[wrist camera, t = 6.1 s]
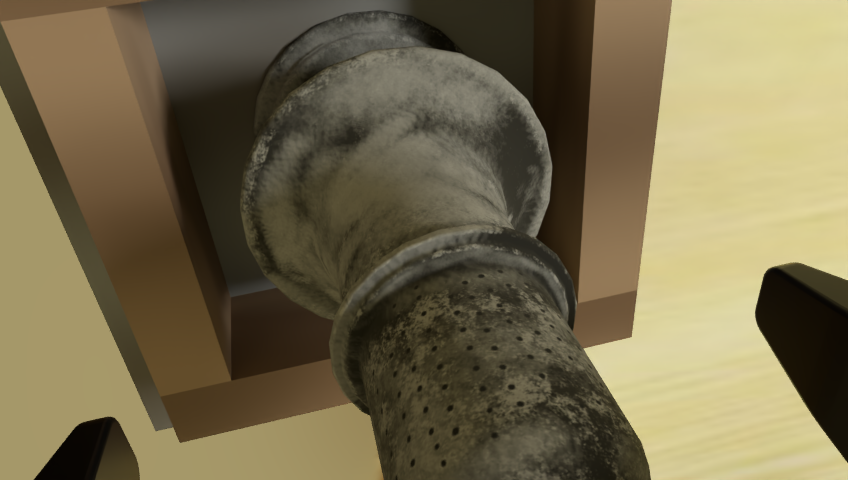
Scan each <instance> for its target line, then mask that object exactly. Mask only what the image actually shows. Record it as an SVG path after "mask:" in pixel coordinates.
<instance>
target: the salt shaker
mask: <svg viewBox="0 0 848 480" xmlns="http://www.w3.org/2000/svg"><path fill="white" fill-rule="evenodd" d="M253 130H254V136H255V142H254V145H253V147H252V149H251V152H250V154H249V156H248V159H247V161H246V163H245V165H244V173H243V182H242V190H241V199H240V211H241V216H242V221H243V226H244V231H245V235H246V240H247V245H248V246H249V248H250V250H251V252H252V254H253V255H254V257H255V259H256V261H257V263H258V264H259V266H260V268H261V270H262V272H263V273H264V275H265V276H266V277H267V278H268V279H269V280H270V281H271V282H272V283H273V284H274V285H275V286H276V287H277V288H278V289H279V290H280V291H281V292H282V293H283V294H284V295H285V296H286V297H287V298H288V299H290V300H291V301H293V302H295V303H297V304H298V305H300V306H302V307H304V308H306V309H307V310H309V311H311V312H313V313H315V314H317V315H318V316H320V317H323V318H327V319H331V320H334V322H333V327H332V331H331V336H330V340H329V348H330V357H331V365H332V372H333V375H334V377H335V378H336V380H337V382H338V384H339V386H340V388H341V390H342V392H343V394H344V395H345V396H346V397H347V398H348V399H349V400H350V401H351V402H352V403H353V404H355V406H357V407H358V408H359V409H360V410H361V411H362V412H364V413H366V414H368V415H370V417H371V421H372V426H373V431H374V435H375V440H376V445H377V449H378V454H379V459H380V463H381V468H382V473H383V477H384V480H651V477H650V470H649V465H648V462H647V459H646V456H645V453H644V449H643V446H642V443H641V441H640V440H639V438H638V436H637V435H636V433H635V431H634V430H633V428H632V427H631V425H630V423H629V422H628V420H627V419H626V417H625V415H624V414H623V412H622V411H621V409H620V407H619V406H618V404H617V402H616V401H615V399H614V398H613V396H612V394H611V393H610V391H609V390H608V388H607V386H606V385H605V383H604V382H603V380H602V378H601V377H600V375H599V373H598V372H597V370H596V369H595V367H594V365H593V364H592V362H591V361H590V359H589V357H588V356H587V354H586V353H585V351H584V349H583V348H582V346H581V345H580V343H579V341H578V340H577V338H576V336H575V335H574V333H573V332H572V331H573V329H574V323H575V315H576V308H577V301H576V296H575V290H574V285H573V280H572V278H571V276H570V275H569V273H568V271H567V270H566V268H565V266H564V265H563V263H562V262H561V260H560V258H559V257H558V255H557V254H556V253H555V252H553V251H552V250H551V249H549V248H548V247H547V246H546V245H544V244H543V243H542V242H541V241H539V240H538V239H537V238H536V236H537V234H538V231H539V229H540V226H541V223H542V220H543V217H544V215H545V212H546V209H547V206H548V204H549V200H550V188H551V176H552V162H551V157H550V152H549V148H548V143H547V138H546V133H545V130H544V128H543V127H542V125H541V123H540V121H539V119H538V118H537V116H536V114H535V112H534V111H533V109H532V107H531V105H530V103H529V102H528V100H527V99H526V98H525V97H524V96H523V95H522V94H521V93H520V92H519V91H518V90H517V89H516V88H515V87H514V86H513V85H512V84H511V83H509V82H508V81H507V80H506V79H505V78H504V77H503V76H502V75H501V74H500V73H499V72H498V71H496V70H494V69H492V68H490V67H488V66H486V65H484V64H482V63H480V62H477V61H475V60H473V59H471V58H469V57H467V56H465V54H464V52H463V51H462V50H461V49H460V48H459V47H458V46H457V45H456V44H455V43H454V42H453V41H451V40H450V39H449V38H448V37H447V36H446V35H445V34H444V33H443V32H442V31H441V30H439V29H437V28H435V27H433V26H431V25H429V24H427V23H425V22H423V21H421V20H419V19H417V18H415V17H413V16H410V15H405V14H399V13H394V12H388V11H383V10H375V11H364V12H353V13H346V14H343V15H341V16H338V17H335V18H333V19H330V20H327V21H324V22H322V23H319V24H316V25H315V26H313V27H312V28H311V29H309V30H308V31H306V32H305V33H304V34H302V35H301V36H300V37H298V38H297V39H295V40H294V41H293V42H291V43H290V44H289V45H288V46H287V47H286V48H285V50H284V51H283V52H282V53H281V55H280V56H279V57H278V58H277V60H276V61H275V62H274V63H273V65H272V66H271V67H270V68H269V70H268V72H267V75H266V77H265V79H264V82H263V84H262V87H261V89H260V91H259V94H258V96H257V100H256V108H255V117H254V126H253Z"/></svg>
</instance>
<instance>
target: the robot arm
mask: <svg viewBox="0 0 848 480" xmlns="http://www.w3.org/2000/svg"><path fill="white" fill-rule="evenodd" d="M755 318H756V322H757V325H758V327H759V329H760V331H761V333H762V334H763V336H764V338H765V339H766V341H767V342H768V344H769V346H770V347H771V349H772V351H773V352H774V354H775V356H776V357H777V359H778V361H779V362H780V364H781V366H782V367H783V369H784V370H785V372H786V374H787V375H788V377H789V379H790V380H791V382H792V384H793V385H794V387H795V389H796V390H797V392H798V393H799V395H800V397H801V398H802V400H803V402H804V403H805V405H806V406H807V408H808V409H809V411H810V412H811V414H812V415H813V417H814V418H815V420H816V421H817V422H818V424H819V425H820V427H821V428H822V429H823V431H824V432H825V433H826V435H827V436H828V437H829V439H830V440H831V441H832V443H833V444H834V445H835V447H836V448H837V449H838V451H839V452H840V453H841V455H842V456H843V457H844V459H845V460H846V461H847V463H848V280H845V279H843V278H840V277H837V276H834V275H831V274H829V273H826V272H823V271H820V270H818V269H815V268H812V267H809V266H807V265H804V264H801V263H796V262H795V263H788V264H783V265H779V266H774V267H771V268H769V269H768V270H767V271H766V273H765V274H764V277H763V281H762V285H761V289H760V293H759V297H758V301H757V305H756V310H755ZM139 476H140V475H139V467H138V463H137V459H136V457H135V454H134V452H133V450H132V448H131V446H130V444H129V442H128V440H127V438H126V436H125V434H124V432H123V430H122V428H121V426H120V424H119V422H118V421H117V420H116V419H115V418H113V417H104V418H100V419H95V420H91V421H87V422H83V423H81V424H79V425H78V426H76V427H75V429H74V430H73V431H72V432H71V433H70V435H69V436H68V437H67V438H66V440H65V441H64V442H63V443H62V445H61V446H60V447H59V449H58V450H57V451H56V453H55V454H54V455H53V456H52V458H51V459H50V460H49V461H48V463H47V464H46V465H45V466H44V468H43V469H42V470H41V472H40V473H39V474H38V475H37V476H36V478H35V479H34V480H140V477H139Z"/></svg>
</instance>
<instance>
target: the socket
mask: <svg viewBox="0 0 848 480" xmlns="http://www.w3.org/2000/svg"><path fill="white" fill-rule="evenodd" d="M671 4H672V0H0V86H1V88H2V90H3V93H4V95H5V97H6V99H7V101H8V104H9V106H10V108H11V110H12V112H13V114H14V117H15V119H16V121H17V123H18V126H19V128H20V130H21V132H22V135H23V137H24V139H25V141H26V143H27V146H28V148H29V150H30V153H31V154H32V157H33V159H34V162H35V164H36V166H37V168H38V170H39V173H40V175H41V177H42V179H43V182H44V184H45V186H46V188H47V190H48V193H49V195H50V197H51V199H52V201H53V203H54V206H55V208H56V210H57V213H58V215H59V217H60V219H61V221H62V224H63V226H64V228H65V230H66V233H67V235H68V237H69V239H70V242H71V244H72V246H73V248H74V250H75V253H76V255H77V257H78V259H79V262H80V264H81V266H82V268H83V270H84V273H85V275H86V277H87V279H88V282H89V284H90V286H91V288H92V290H93V292H94V295H95V297H96V299H97V302H98V304H99V306H100V308H101V310H102V313H103V315H104V317H105V319H106V322H107V324H108V326H109V328H110V330H111V333H112V335H113V337H114V339H115V342H116V344H117V346H118V348H119V351H120V353H121V355H122V357H123V359H124V362H125V364H126V366H127V368H128V371H129V373H130V375H131V377H132V379H133V382H134V384H135V386H136V388H137V391H138V393H139V395H140V397H141V399H142V402H143V404H144V406H145V408H146V410H147V413H148V415H149V417H150V419H151V421H152V424H153V426H154V428H155V430H156V431H158V430H163V429H167V428H172V427H173V428H174V430H175V432H176V435H177V437H178V439H179V442H180V443H181V442H186V441H190V440H194V439H198V438H203V437H207V436H211V435H216V434H219V433H224V432H228V431H232V430H237V429H241V428H245V427H249V426H254V425H258V424H262V423H267V422H271V421H275V420H279V419H284V418H288V417H292V416H296V415H301V414H305V413H309V412H314V411H318V410H322V409H326V408H330V407H335V406H339V405H344V404H348V403H352V402H351V401H350V400H349V399H348V398H347V397H346V396H345V395H344V394H343V392H342V390H341V388H340V386H339V384H338V382H337V380H336V378H335V377H334V375H333V372H332V365H331V357H330V348H329V340H330V336H331V331H332V327H333V322H334V320H331V319H327V318H323V317H320V316H318V315H317V314H315V313H313V312H311V311H309V310H307V309H306V308H304V307H302V306H300V305H298V304H297V303H295V302H293V301H291V300H290V299H288V298H287V297H286V296H285V295H284V294H283V293H282V292H281V291H280V290H279V289H278V288H277V287H276V286H275V285H274V284H273V283H272V282H271V281H270V280H269V279H268V278H267V277H266V276H265V275H264V273H263V272H262V270H261V268H260V266H259V264H258V263H257V261H256V259H255V257H254V255H253V254H252V252H251V250H250V248H249V246H248V245H247V240H246V235H245V231H244V226H243V221H242V216H241V211H240V199H241V190H242V182H243V173H244V165H245V163H246V161H247V159H248V156H249V154H250V152H251V149H252V147H253V145H254V142H255V136H254V130H253V126H254V117H255V108H256V100H257V96H258V94H259V91H260V89H261V87H262V84H263V82H264V79H265V77H266V75H267V72H268V70H269V68H270V67H271V66H272V65H273V63H274V62H275V61H276V60H277V58H278V57H279V56H280V55H281V53H282V52H283V51H284V50H285V48H286V47H287V46H288V45H289V44H290V43H291V42H293V41H294V40H295V39H297V38H298V37H300V36H301V35H302V34H304V33H305V32H306V31H308V30H309V29H311V28H312V27H313V26H315V25H316V24H319V23H322V22H324V21H327V20H330V19H333V18H335V17H338V16H341V15H343V14H346V13H353V12H364V11H375V10H383V11H388V12H394V13H399V14H405V15H410V16H413V17H415V18H417V19H419V20H421V21H423V22H425V23H427V24H429V25H431V26H433V27H435V28H437V29H439V30H441V31H442V32H443V33H444V34H445V35H446V36H447V37H448V38H449V39H450V40H451V41H453V42H454V43H455V44H456V45H457V46H458V47H459V48H460V49H461V50H462V51H463V52H464V54H465V56H467V57H469V58H471V59H473V60H475V61H477V62H480V63H482V64H484V65H486V66H488V67H490V68H492V69H494V70H496V71H498V72H499V73H500V74H501V75H502V76H503V77H504V78H505V79H506V80H507V81H508V82H509V83H511V84H512V85H513V86H514V87H515V88H516V89H517V90H518V91H519V92H520V93H521V94H522V95H523V96H524V97H525V98H526V99H527V100H528V102H529V103H530V105H531V107H532V109H533V111H534V112H535V114H536V116H537V118H538V119H539V121H540V123H541V125H542V127H543V128H544V130H545V133H546V138H547V143H548V148H549V152H550V157H551V162H552V176H551V188H550V200H549V204H548V206H547V209H546V212H545V215H544V217H543V220H542V223H541V226H540V229H539V231H538V234H537V236H536V238H537V239H538V240H539V241H541V242H542V243H543V244H544V245H546V246H547V247H548V248H549V249H551V250H552V251H553V252H555V253H556V254H557V255H558V257H559V258H560V260H561V262H562V263H563V265H564V266H565V268H566V270H567V271H568V273H569V275H570V276H571V278H572V280H573V285H574V290H575V296H576V301H577V308H576V315H575V323H574V329H573V331H572V332H573V333H574V335H575V336H576V338H577V340H578V341H579V343H580V345H581V346H582V348H587V347H591V346H595V345H600V344H604V343H608V342H613V341H617V340H621V339H625V338H630V337H632V329H633V321H634V312H635V304H636V296H637V287H638V279H639V271H640V262H641V254H642V246H643V237H644V229H645V221H646V212H647V204H648V196H649V188H650V179H651V171H652V163H653V154H654V146H655V138H656V129H657V121H658V113H659V104H660V96H661V88H662V79H663V71H664V63H665V54H666V46H667V38H668V29H669V21H670V13H671Z"/></svg>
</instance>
